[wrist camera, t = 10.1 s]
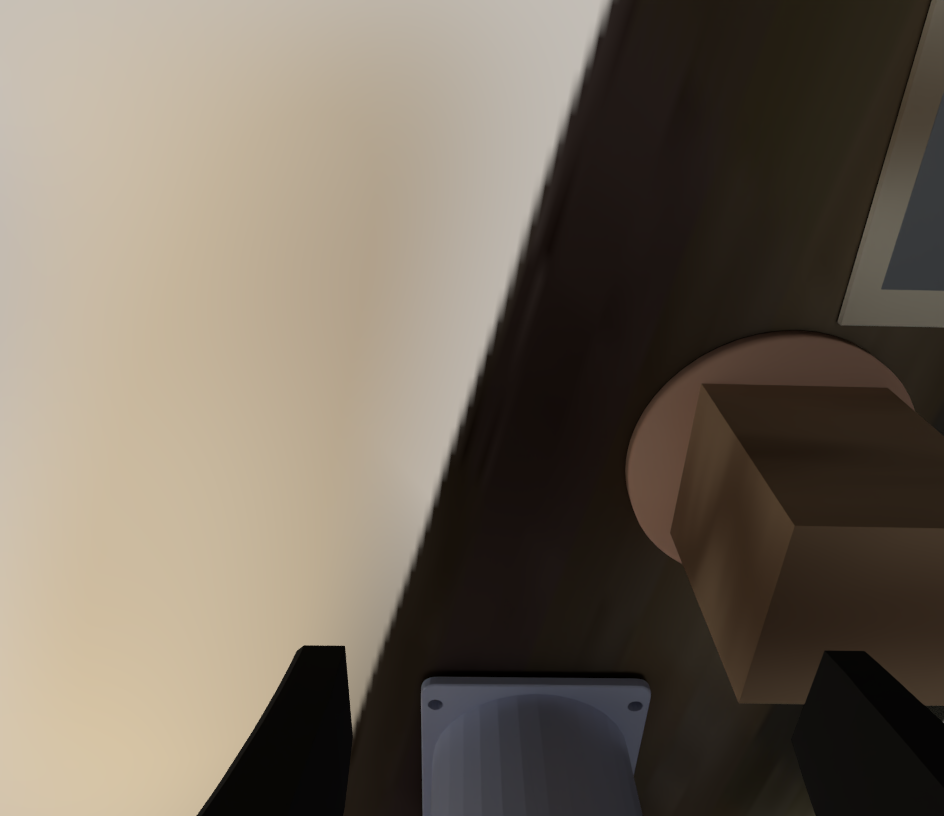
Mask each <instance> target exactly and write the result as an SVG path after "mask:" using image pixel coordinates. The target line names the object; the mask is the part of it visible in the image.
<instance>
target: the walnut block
mask: <svg viewBox="0 0 944 816" xmlns="http://www.w3.org/2000/svg"><path fill="white" fill-rule="evenodd" d="M670 534H671V537H672V539H673V542H674V544H675V547H676V549H677V552H678V554H679V557H680V559H681V562H682V564H683V566H684V569H685V571H686V574H687V576H688V579H689V581H690V584H691V586H692V589H693V591H694V594H695V596H696V599H697V601H698V604H699V606H700V609H701V611H702V614H703V616H704V619H705V621H706V623H707V626H708V628H709V631H710V633H711V636H712V638H713V641H714V643H715V646H716V648H717V651H718V653H719V656H720V658H721V661H722V663H723V666H724V668H725V671H726V673H727V676H728V678H729V680H730V683H731V685H732V688H733V690H734V693H735V695H736V698H737V700H738V703H748V704H805V701H806V699H807V696H808V693H809V691H810V688H811V685H812V683H813V680H814V677H815V675H816V672H817V669H818V667H819V664H820V661H821V659H822V656H823V653H824V651H865V652H866V653H868V654H869V655H870V656H871V657H872V658H873V659H874V660H875V661H877V662H878V663H879V664H880V665H881V666H882V667H883V668H884V669H885V670H887V671H888V672H889V673H890V674H891V675H892V676H893V677H894V678H895V679H896V680H897V681H899V682H900V683H901V684H902V685H903V686H904V687H905V688H906V689H907V690H908V691H909V692H910V693H912V694H913V695H914V696H915V697H916V698H917V699H918V700H919V701H920V702H921V703H922V704H923V705H926V706H944V436H943V435H942V434H940V433H939V432H938V431H937V430H936V429H935V428H934V427H932V426H931V425H930V424H929V423H928V422H927V421H925V420H924V419H923V418H922V417H921V416H920V415H919V414H917V413H916V412H915V411H914V410H913V409H912V408H910V407H909V406H908V405H907V404H906V403H905V402H904V401H902V400H901V399H900V398H899V397H898V396H897V395H895V394H894V393H893V392H892V391H891V390H890V389H889V388H877V387H833V386H790V385H747V384H703V383H701V388H700V392H699V397H698V402H697V407H696V411H695V416H694V421H693V426H692V431H691V435H690V440H689V445H688V450H687V454H686V459H685V464H684V469H683V473H682V478H681V483H680V488H679V493H678V497H677V502H676V507H675V512H674V516H673V521H672V526H671V531H670Z"/></svg>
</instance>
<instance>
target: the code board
mask: <svg viewBox="0 0 944 816" xmlns="http://www.w3.org/2000/svg"><path fill="white" fill-rule="evenodd" d="M838 323H839V324H840V325H856V326H906V327H944V0H932V1H931V5H930V8H929V11H928V15H927V18H926V22H925V25H924V28H923V32H922V35H921V39H920V42H919V45H918V49H917V52H916V56H915V59H914V63H913V66H912V69H911V73H910V76H909V80H908V83H907V86H906V90H905V93H904V97H903V100H902V103H901V107H900V110H899V114H898V117H897V120H896V124H895V127H894V131H893V134H892V137H891V141H890V144H889V148H888V151H887V155H886V158H885V161H884V165H883V168H882V172H881V175H880V178H879V182H878V185H877V189H876V192H875V195H874V199H873V202H872V206H871V209H870V212H869V216H868V219H867V223H866V226H865V229H864V233H863V236H862V240H861V243H860V247H859V250H858V253H857V257H856V260H855V264H854V267H853V270H852V274H851V277H850V281H849V284H848V287H847V291H846V294H845V298H844V301H843V304H842V308H841V311H840V315H839V318H838Z"/></svg>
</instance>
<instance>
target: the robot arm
mask: <svg viewBox="0 0 944 816" xmlns="http://www.w3.org/2000/svg"><path fill="white" fill-rule="evenodd" d="M650 698H651V691H650V687H649V684H648V683H647V682H646V681H644V680H643V679H637V678H536V677H430V678H428V679H426V680H425V681H424V682H423V683H422V686H421V733H422V808H423V816H643V815H642V811H641V806H640V802H639V797H638V793H637V788H636V784H635V779H634V772H635V768H636V763H637V758H638V754H639V749H640V745H641V740H642V735H643V731H644V726H645V721H646V717H647V712H648V708H649V703H650ZM352 738H353V735H352V723H351V712H350V700H349V689H348V677H347V665H346V653H345V646H303V647H301V648H300V649H299V650H298V651H297V652H296V654H295V656H294V658H293V660H292V662H291V664H290V666H289V668H288V670H287V672H286V674H285V675H284V677H283V679H282V681H281V683H280V685H279V687H278V689H277V690H276V692H275V694H274V696H273V697H272V699H271V701H270V703H269V704H268V706H267V708H266V710H265V711H264V713H263V715H262V716H261V718H260V720H259V722H258V723H257V725H256V726H255V728H254V730H253V732H252V733H251V735H250V736H249V738H248V739H247V741H246V742H245V744H244V746H243V747H242V749H241V750H240V752H239V753H238V755H237V757H236V758H235V760H234V761H233V763H232V764H231V766H230V767H229V769H228V771H227V772H226V774H225V775H224V777H223V778H222V780H221V782H220V783H219V784H218V786H217V788H216V789H215V790H214V792H213V793H212V795H211V796H210V798H209V799H208V800H207V802H206V803H205V805H204V806H203V808H202V809H201V810H200V812H199V813H198V815H197V816H343V813H344V808H345V799H346V791H347V782H348V774H349V765H350V756H351V747H352ZM791 740H792V743H793V746H794V750H795V753H796V756H797V760H798V763H799V766H800V769H801V773H802V776H803V779H804V782H805V785H806V788H807V791H808V794H809V797H810V800H811V803H812V806H813V809H814V812H815V814H816V816H944V723H943V722H942V721H941V720H940V719H939V718H937V717H936V716H935V715H934V714H933V713H932V712H931V711H930V710H929V709H928V708H927V707H926V706H924V705H923V704H922V703H921V702H920V701H919V700H918V699H917V698H916V697H915V696H914V695H913V694H912V693H910V692H909V691H908V690H907V689H906V688H905V687H904V686H903V685H902V684H901V683H900V682H899V681H897V680H896V679H895V678H894V677H893V676H892V675H891V674H890V673H889V672H888V671H887V670H885V669H884V668H883V667H882V666H881V665H880V664H879V663H878V662H877V661H875V660H874V659H873V658H872V657H871V656H870V655H869V654H868V653H866V652H865V651H824V653H823V656H822V659H821V661H820V664H819V667H818V669H817V672H816V675H815V677H814V680H813V683H812V685H811V688H810V691H809V693H808V696H807V699H806V701H805V704H804V707H803V709H802V712H801V715H800V717H799V720H798V723H797V726H796V728H795V731H794V734H793V736H792V739H791Z"/></svg>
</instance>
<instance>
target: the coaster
mask: <svg viewBox="0 0 944 816" xmlns="http://www.w3.org/2000/svg"><path fill="white" fill-rule="evenodd" d="M701 383H703V384H747V385H790V386H833V387H877V388H889V389H890V390H891V391H892V392H893V393H894V394H895V395H897V396H898V397H899V398H900V399H901V400H902V401H904V402H905V403H906V404H907V405H908V406H909V407H910V408H912V409H913V410H914V407H913V404H912V402H911V399H910V396H909V394H908V393H907V391H906V389H905V388H904V386H903V384H902V383H901V381H900V380H899V379H898V378H897V377H896V376H895V375H894V374H893V372H892V371H891V370H890V369H888V368H887V367H886V366H885V365H884V364H882V363H881V362H880V361H879V360H877V359H876V358H875V357H874V356H872V355H871V354H870V353H869V352H867V351H866V350H864V349H863V348H861V347H859V346H857V345H855V344H854V343H852V342H849V341H847V340H844V339H841V338H839V337H836V336H832V335H828V334H823V333H819V332H810V331H798V330H795V331H776V332H769V333H763V334H757V335H753V336H750V337H746V338H742V339H739V340H736V341H733V342H731V343H728V344H726V345H723V346H721V347H718V348H716V349H714V350H713V351H711V352H709V353H707V354H705V355H703V356H701V357H699V358H698V359H696V360H695V361H694V362H692V363H691V364H689V365H688V366H686V367H685V368H683V369H682V370H681V371H680V372H678V373H677V374H676V375H675V376H674V377H673V378H671V379H670V380H669V381H668V382H667V383H666V384H665V385H664V386H663V387H662V388H661V390H660V391H659V392H658V393H657V394H656V395H655V396H654V398H653V399H652V400H651V402H650V403H649V404H648V406H647V407H646V408H645V410H644V412H643V413H642V415H641V417H640V419H639V421H638V422H637V424H636V426H635V429H634V432H633V434H632V437H631V439H630V443H629V447H628V451H627V456H626V467H625V474H626V486H627V490H628V494H629V498H630V501H631V504H632V507H633V510H634V512H635V515H636V517H637V519H638V522H639V524H640V526H641V527H642V529H643V530H644V532H645V533H646V535H647V536H648V537H649V538H650V540H651V541H652V542H653V543H654V544H655V545H656V546H657V547H658V548H659V549H661V550H662V551H663V552H664V553H665V554H667V555H668V556H670V557H671V558H673V559H675V560H676V561H678V562H680V563H682V562H681V559H680V557H679V554H678V552H677V549H676V547H675V544H674V542H673V539H672V537H671V534H670V531H671V526H672V521H673V516H674V512H675V507H676V502H677V497H678V493H679V488H680V483H681V478H682V473H683V469H684V464H685V459H686V454H687V450H688V445H689V440H690V435H691V431H692V426H693V421H694V416H695V411H696V407H697V402H698V397H699V392H700V388H701ZM914 411H915V410H914Z"/></svg>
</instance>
